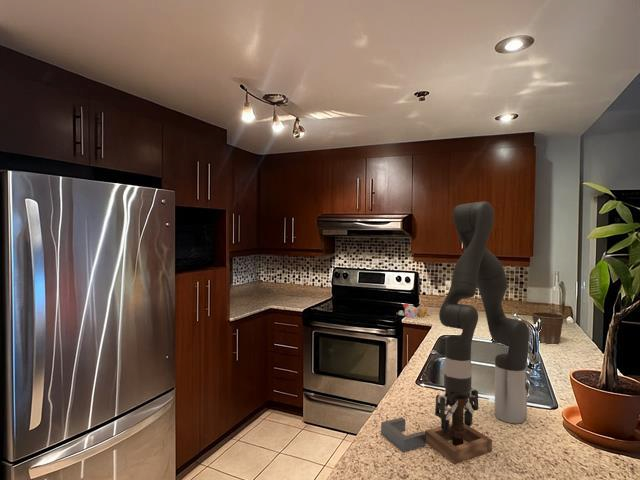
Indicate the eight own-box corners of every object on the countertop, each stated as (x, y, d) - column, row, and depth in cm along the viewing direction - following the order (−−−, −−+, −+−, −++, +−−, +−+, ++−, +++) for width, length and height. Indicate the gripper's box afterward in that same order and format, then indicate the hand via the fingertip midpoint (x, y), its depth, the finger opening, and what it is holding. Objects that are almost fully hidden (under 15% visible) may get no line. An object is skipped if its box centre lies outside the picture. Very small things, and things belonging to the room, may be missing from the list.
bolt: (465, 442, 116) (465, 392, 115) (470, 452, 111) (470, 399, 110) (445, 441, 116) (445, 391, 116) (449, 451, 111) (449, 399, 111)
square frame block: (460, 432, 122) (460, 420, 122) (491, 451, 111) (491, 439, 111) (424, 442, 116) (424, 430, 116) (454, 464, 105) (454, 451, 105)
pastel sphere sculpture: (434, 316, 291) (434, 304, 291) (424, 322, 271) (424, 309, 271) (401, 312, 304) (402, 300, 304) (390, 318, 285) (390, 305, 284)
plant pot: (550, 338, 229) (550, 311, 229) (571, 346, 213) (571, 317, 213) (524, 339, 227) (525, 312, 226) (544, 347, 211) (544, 318, 210)
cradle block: (402, 428, 124) (402, 417, 124) (425, 445, 114) (425, 433, 114) (381, 433, 121) (381, 422, 121) (403, 452, 111) (403, 439, 111)
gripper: (466, 365, 119) (465, 417, 120) (429, 371, 114) (428, 427, 114) (486, 373, 113) (485, 429, 113) (448, 380, 107) (447, 439, 107)
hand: (456, 428), depth 113 cm, fingers open, 8 cm apart
